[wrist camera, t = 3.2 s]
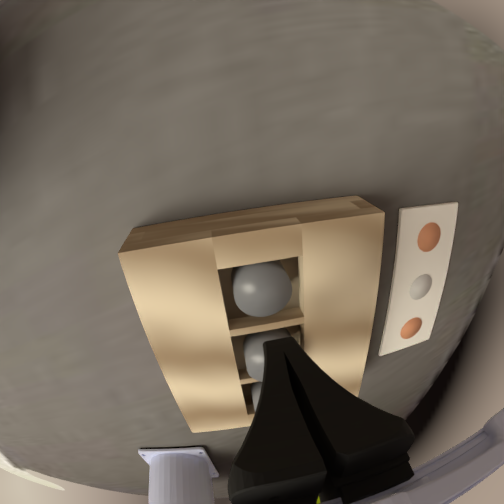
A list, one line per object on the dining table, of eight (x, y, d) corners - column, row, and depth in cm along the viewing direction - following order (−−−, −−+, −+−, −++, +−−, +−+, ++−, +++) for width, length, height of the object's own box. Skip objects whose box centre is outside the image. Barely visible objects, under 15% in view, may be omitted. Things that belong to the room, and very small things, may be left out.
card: (427, 337, 26) (429, 339, 25) (378, 354, 25) (380, 356, 25) (455, 201, 19) (459, 203, 19) (399, 208, 19) (402, 210, 19)
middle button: (291, 355, 20) (299, 376, 18) (245, 364, 20) (249, 385, 18) (290, 320, 18) (299, 341, 17) (239, 329, 18) (243, 351, 16)
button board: (343, 372, 25) (356, 400, 22) (192, 401, 24) (192, 432, 21) (356, 195, 18) (384, 212, 15) (132, 228, 17) (117, 253, 14)
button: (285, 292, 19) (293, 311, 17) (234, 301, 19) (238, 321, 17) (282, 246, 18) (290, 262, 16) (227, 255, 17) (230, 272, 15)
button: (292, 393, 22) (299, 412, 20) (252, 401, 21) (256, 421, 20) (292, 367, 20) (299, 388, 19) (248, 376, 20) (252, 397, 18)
